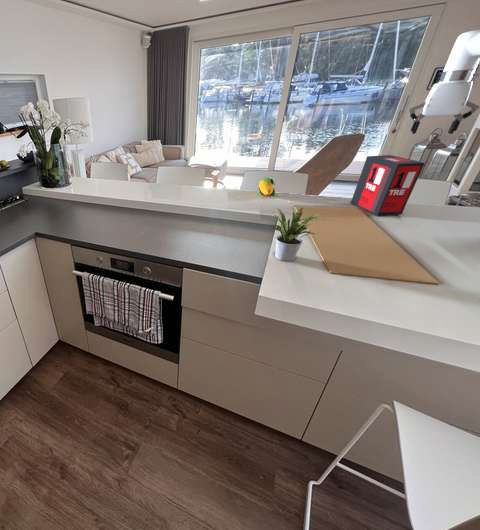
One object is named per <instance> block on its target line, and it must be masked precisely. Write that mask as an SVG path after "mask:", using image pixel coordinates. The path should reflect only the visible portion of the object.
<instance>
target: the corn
mask: <svg viewBox="0 0 480 530" xmlns="http://www.w3.org/2000/svg"><path fill="white" fill-rule="evenodd" d="M274 186H276V182H275V180H274V179H272V178H270V177H262V180H260V181H259V183H258V191H259V193H260V195H262V196H270V197H272V198H273V197H274V196H275V194H276V190H275V188H274Z"/></svg>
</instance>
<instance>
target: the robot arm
mask: <svg viewBox="0 0 480 530" xmlns="http://www.w3.org/2000/svg"><path fill="white" fill-rule="evenodd" d="M479 64H480V29H475V30H470V31H466V32H462V33H461V34H459V35H458V37H456V39H455V42H454V43H453V46H452V49H451V52H450V53H449V56H448V59H447V60H446V63H445V66H444V69H443V71H442V73H441V75H440V78H439V80H438V82H437V83H434V84H433V86H432V87H431V89H430V91H429V92H428V95H427V97H426V98H425V100H424V102H422V103H420V104H417V105H415V106H412V107H410V108H408V113H409V116H410V118H411V119H412V121H413V124H412V125H411V128H410V132H411V134H412V135H415V134H417V132H418V128H419V126H420V124H421V122H420V121H421V120H422V119H423V118H425V117H439V116H441V117H443V116H444V117H445V116H453V117H454V118H455V119H454V120H452V122H451V125H450V127H449V128H448V131H447V133H448V134H449V135H453V134H454V132H456V131H457V130H458V129H459V126H460V124H461V122H462V121H463V120H465V119H467V118H468V117H470V116H472V115H473V113H475V112H476V111H477V110H479V108H480V106H479V105H478V104H475V103H473V102H471V101H469V100H468V99H469V97H470V95H471V91H472V86H473V84H474V81H473V80H472V79H474V78H476V77H477V78H478V77H480V71H478V70H477V68H478V65H479ZM465 107H467V108H468V109H469V108H470V109H469V110H468V111H466V112H465V113H464V114H462V112H463V111H464V109H465ZM420 109H421V110H420ZM417 110H420V114H418V115H416V112H415V111H417Z"/></svg>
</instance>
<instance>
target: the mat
mask: <svg viewBox="0 0 480 530" xmlns="http://www.w3.org/2000/svg"><path fill="white" fill-rule="evenodd" d="M301 208H302V209H303V210H302V216H301V218H300V219H304V218H309V217H310V216H312V215H315V214H319V213H321V214H319V215H316V216H315V217H316V218H313V219H324V220H313V219H312V220H313V221H310V222H308V223H306V224H305V225H307V224H315V225H308V226H307V227H306V228H307V229H306V231H309V232H312V233H313V234H314V233H317V234H314V235H313V234H309V233H308V235H309V237H310V239H311V240H312V243H313V244H314V246H315V248H316V250H317V252H318V254H319V255H320V257H321V259H322V261H323V263H324V265H325V266H326V268H327V271H328V272H329V274H334V275H341V276H352V277H363V278H372V279H381V280H391V281H392V280H393V281H402V282H409V283H411V282H412V283H418V284H419V283H420V284H430V285H440V282H439V281H438V280H437V279H435V278H434V277H433V276H432V275H431V274H430V273H429V272H428V271H427V270H426V269H425V268H424V267H422V266H421V265H420V264H419V263H418V262H417V261H416V259H414V258H413V257H412V256H411V255H410V254H409V253H407V252H406V251H405V250H404V249H403V248H402V247H401V246H400V245H399V244H398V243H397V242H395V240H393V238H391V237H390V236H389V235H388V234H387V233H386V232H385V231H384V230H383V229H382V228H380V226H379V225H377V224H376V223H375V222H374V221H373V220H372V219H371V218H369V216H367V215H366V213H364V212H363V211H362V209H361V208H349V207H347V208H346V207H321V206H303V205H302V206H300V205H299V206H298V205H295V206H294V210H296V213H297V212H298V210H299V209H301ZM304 220H306V219H304ZM304 220H301V223H302V222H303V221H304ZM305 225H304V226H305Z"/></svg>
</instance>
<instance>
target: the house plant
mask: <svg viewBox="0 0 480 530" xmlns="http://www.w3.org/2000/svg"><path fill="white" fill-rule="evenodd" d="M276 209H277V211H278V212H279V215H280V218H279V216H277V215H275V214H274V217H276V218H277V220H278V221H279V223H280V225H279V224H274V227H271V228H270V230H273V231H278V232H280V235H278V236H276V237H275V254H274V255H275V256H274V257H275V258H276V259H278V260H279V261H281V262H292V261H293V262H294V260H295V258H296V256H297V254H298V252H299V250H300V248H301V246H302V244H303V240H302V239H301V238H303V237H305V236H308V235H309V234H313V233H312V232H309V231H307V228H306V227H307V226H308V225H315V224H307V225H305V224H306V223H308V222H310V221H313V220H324V219H313V218H316V217H315V216H316V215H319V214H321V213H319V214H315V215H312V216H310V217H309V218H304V219H306V220H304V219H301V216H302V210H303V209H302V208H301V209H299V210H298V212H297V211H296V212H295V208H294V207H293V206H292V216H291V217H292V219H291V218H288V219H287V218H286V216H285V215H286V214H284V212H282V210H281V209H280V208H277V207H276ZM312 219H313V220H312ZM302 220H304V221H303V222H302ZM300 222H301V223H300ZM302 234H305V235H302ZM314 234H317V233H314ZM314 234H313V235H314ZM300 235H302V236H300ZM299 236H300V237H299Z"/></svg>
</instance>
